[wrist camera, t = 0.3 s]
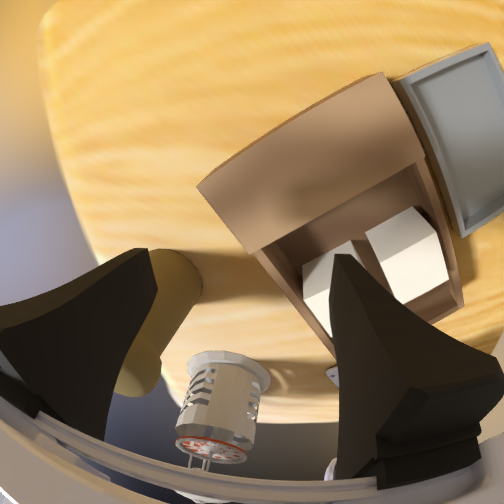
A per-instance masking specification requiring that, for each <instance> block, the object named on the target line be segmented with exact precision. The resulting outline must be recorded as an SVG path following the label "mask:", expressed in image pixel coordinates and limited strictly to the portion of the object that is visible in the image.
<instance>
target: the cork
mask: <svg viewBox="0 0 504 504" xmlns="http://www.w3.org/2000/svg"><path fill="white" fill-rule="evenodd" d="M149 256H150V260H151V264H152V268H153V271H154V275H155V279H156V283H157V286H158V292H157V295H156V297H155V300H154V303H153V305H152V308H151V310H150V312H149V314H148V316H147V317H146V319H145V321H144V323H143V325H142V327H141V328H140V330H139V332H138V334H137V336H136V337H135V339H134V341H133V343H132V345H131V347H130V349H129V351H128V353H127V355H126V357H125V359H124V362H123V365H122V367H121V370H120V373H119V376H118V379H117V382H116V385H115V388H114V392H116V393H118V394H121V395H125V396H129V397H141V396H144V395H146V394H148V393H149V392H150V391H151V390H153V388H154V387H155V386H156V385H157V383H158V380H159V378H160V373H161V365H162V362H161V359H160V356H161V354H162V352H163V351H164V349H165V348H166V346H167V345H168V343H169V342H170V340H171V339H172V337H173V336H174V334H175V333H176V331H177V330H178V328H179V327H180V325H181V324H182V322H183V321H184V319H185V318H186V316H187V315H188V313H189V312H190V310H191V309H192V307H193V306H194V304H195V303H196V301H197V300H198V298H199V297H200V295H201V292H202V288H203V286H202V278H201V276H200V274H199V272H198V270H197V268H196V267H195V266H194V265H193V264H192V262H191V261H190V260H189V259H187V258H186V257H184V256H183V255H181V254H180V253H177V252H174V251H172V250H168V249H156V250H152V251H149Z"/></svg>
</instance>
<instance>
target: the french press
mask: <svg viewBox="0 0 504 504" xmlns="http://www.w3.org/2000/svg"><path fill="white" fill-rule="evenodd" d="M187 372H188V374H189V375H190V377H191V381H190V386H189V387H188V390H190V391H189V392H188V390H187V395H186V397H185V399H184V403H183V406H182V409H181V412H180V416H179V418H178V422H177V425H176V432H177V433H178V434H179V436H181V437H180V438H178V439H176V440H175V443H176V446H177V447H178V448H180V449H181V450H182V451H185V452H187V454H189V455H190V459H189V464H188V468H189V469H190V464H191V460H192V456H193V455H194V457H199V458H200V459H201V458H202V459H203V460H204V461H203V466H202V469H199V468H192V469H194V470H199V471H204V472H208V469H209V465H210V461H212V462H214V461H215V462H218V463H220V462H221V463H224V464H226V463H227V464H231V463H232V464H234V463H241V462H244V461H246V460H247V459H248V455H247V453H246V452H245V451H247V450H250V449H252V447H253V444H254V437H255V429H256V424H255V423H256V422H257V415H258V407H259V405H258V403H260V395H261V394H262V393H263V392H265V391H266V390H268V388H269V386H270V384H271V378H270V375H269V372H268V371H267V370H266V369H265V368H264V367H263V366H262V365H261V364H260V363H258V362H256V361H254V360H252V359H250V358H248V357H246V356H244V355H241V354H236V353H231V352H227V351H206V352H203V353H200V354H197V355H194V356H193V357H192V358H191V359H190V360H189V361H188V362H187ZM191 393H193V394H195V395H192V396H191V397H190V394H191ZM186 399H187V401H186V402H185V400H186ZM189 402H191V403H193V405H192V406H187V404H188V403H189ZM256 406H257V409H256V410H255V407H256ZM183 409H185V410H184V411H183V412H182V410H183ZM247 412H249V413H252V414H247ZM254 416H255V419H254V420H252V419H251V418H252V417H254ZM181 424H187V426H182V425H181ZM207 425H210V426H214V427H213V432H212V436H211V438H208V437H204V435H205V431H206V428H207ZM234 436H236V437H239V438H248V439H250V441H249V442H248V443H238V442H236V441H233V437H234ZM207 460H208V464H207V468H206V471H205V470H204V467H205V462H206V461H207ZM175 491H176V490H175ZM176 492H177V493H179V494H181V495H183V496H185V497H187V498H190V499H192V500H193V501H194V502H196V503H198V504H205V503H226V502H231V501H225V500H218V499H213V498H207V497H202V496H198V495H193V494H189V493H184V492H180V491H176Z"/></svg>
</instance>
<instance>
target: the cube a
mask: <svg viewBox="0 0 504 504" xmlns="http://www.w3.org/2000/svg"><path fill="white" fill-rule="evenodd" d="M334 254H351V255H352V256H353V257H354V258H355V259H356V260H357V261H358V262H359V263H360V264H361V265H362V266H363V267H364V268H365V266H364V265H363V263H362V261H361V259H360V257H359V255H358V253H357V251H356V250H355V248H354V246H353V244H352V242H351V240H350V241H348V242H346V243H344V244H342V245H340V246H338V247H337V248H335V249H333V250H331V251H329V252H327V253H325V254H323V255H321V256H319V257H317V258H315V259H313V260H312V261H310V262H308V263H306V264H304V265H302V272H303V300H304V302H305V303H306V304H307V306H308V307H309V308H310V310H311V311H312V312H313V314H314V315H315V316H316V318H317V319H318V320H319V322H320V323H321V325H322V326H323V327H324V329H325V330H326V331H327V333H328V334H329V335H330V337H332V331H331V326H330V317H329V292H330V285H331V277H332V270H333V262H334ZM365 269H366V268H365Z"/></svg>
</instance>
